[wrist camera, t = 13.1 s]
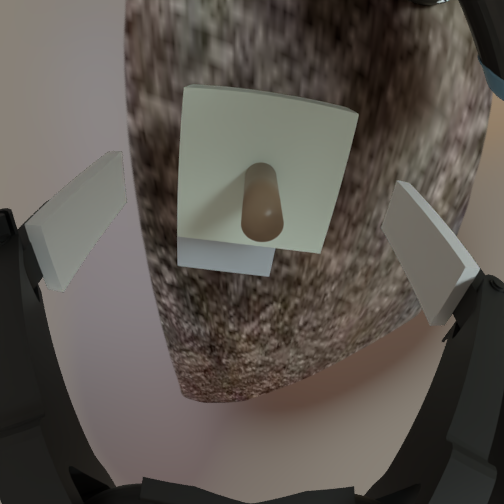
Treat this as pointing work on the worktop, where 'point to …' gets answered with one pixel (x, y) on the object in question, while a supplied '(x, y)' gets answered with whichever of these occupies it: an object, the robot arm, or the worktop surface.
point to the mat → (224, 256)
